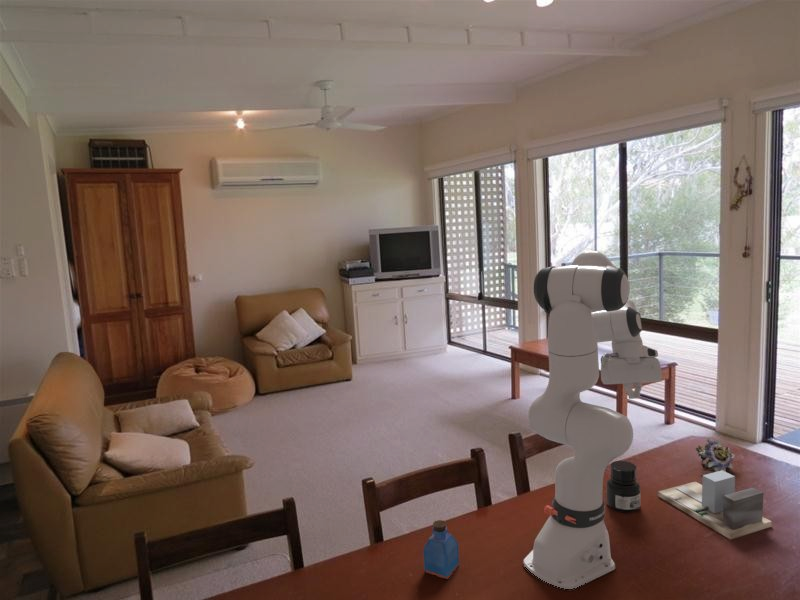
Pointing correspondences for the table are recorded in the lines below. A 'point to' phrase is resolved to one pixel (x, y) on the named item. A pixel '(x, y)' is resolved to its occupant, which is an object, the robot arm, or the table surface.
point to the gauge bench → (699, 490)
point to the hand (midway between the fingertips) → (634, 398)
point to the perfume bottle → (441, 551)
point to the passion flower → (716, 455)
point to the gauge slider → (716, 490)
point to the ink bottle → (623, 487)
